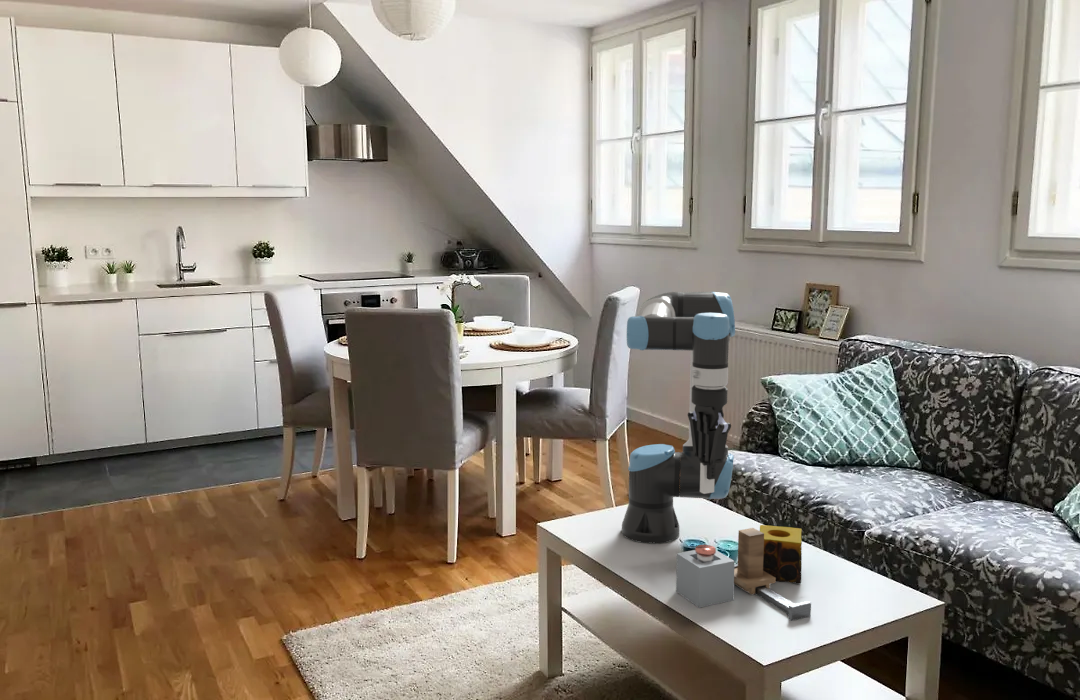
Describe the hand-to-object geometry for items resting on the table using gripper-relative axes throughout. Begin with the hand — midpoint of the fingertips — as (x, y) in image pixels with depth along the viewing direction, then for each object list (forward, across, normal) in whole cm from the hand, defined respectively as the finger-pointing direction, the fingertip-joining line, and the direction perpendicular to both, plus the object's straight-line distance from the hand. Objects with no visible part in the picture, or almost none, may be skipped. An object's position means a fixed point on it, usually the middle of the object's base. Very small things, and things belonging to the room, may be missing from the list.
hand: (706, 491), depth 194 cm
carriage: (+24, +1, +12) cm, 27 cm away
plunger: (+17, 0, 0) cm, 17 cm away
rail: (+24, +6, +12) cm, 27 cm away
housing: (+24, 0, 0) cm, 24 cm away
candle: (+24, -3, +23) cm, 33 cm away
